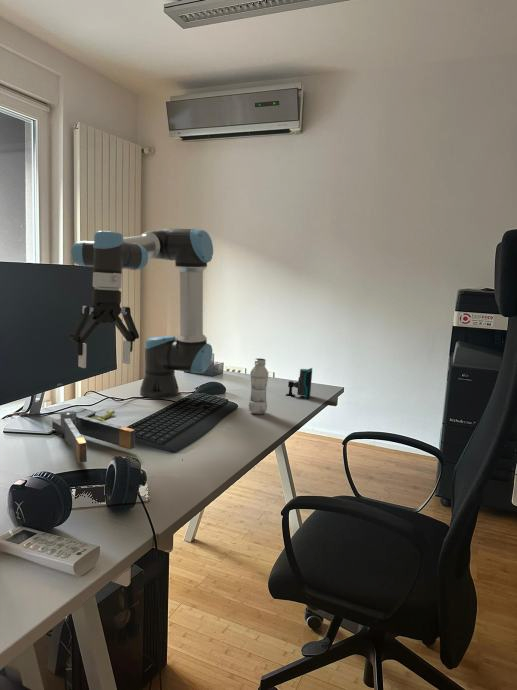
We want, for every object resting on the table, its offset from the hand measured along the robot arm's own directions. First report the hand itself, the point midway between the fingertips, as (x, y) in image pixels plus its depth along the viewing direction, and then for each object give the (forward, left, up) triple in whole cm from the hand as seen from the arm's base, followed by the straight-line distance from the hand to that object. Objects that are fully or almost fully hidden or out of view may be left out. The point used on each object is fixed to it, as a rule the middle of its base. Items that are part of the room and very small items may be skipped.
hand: (104, 365), depth 133 cm
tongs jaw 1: (0, -9, -22) cm, 24 cm away
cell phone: (+28, -15, -24) cm, 39 cm away
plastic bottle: (+8, +56, -24) cm, 61 cm away
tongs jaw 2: (0, 0, -22) cm, 22 cm away
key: (-19, +9, -24) cm, 32 cm away
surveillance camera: (+3, +86, -24) cm, 89 cm away
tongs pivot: (-15, -5, -23) cm, 28 cm away
